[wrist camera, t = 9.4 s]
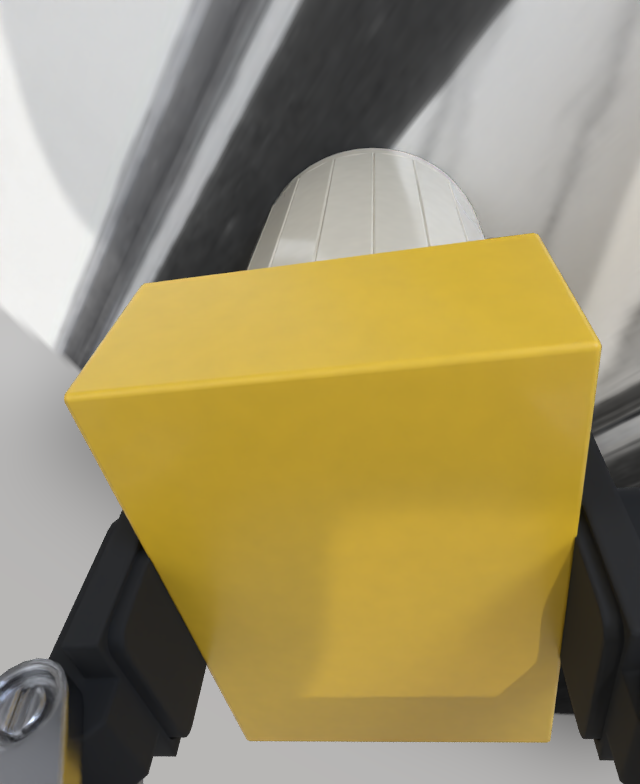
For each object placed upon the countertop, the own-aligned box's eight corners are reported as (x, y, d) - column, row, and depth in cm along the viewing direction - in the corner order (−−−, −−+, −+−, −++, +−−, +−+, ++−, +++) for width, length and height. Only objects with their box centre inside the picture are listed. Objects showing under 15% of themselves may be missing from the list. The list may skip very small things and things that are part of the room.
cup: (236, 167, 17) (137, 323, 10) (480, 128, 16) (566, 272, 9) (285, 363, 21) (239, 572, 14) (482, 343, 20) (542, 559, 13)
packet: (139, 281, 9) (57, 398, 7) (538, 229, 8) (605, 342, 6) (267, 611, 14) (246, 743, 12) (519, 603, 13) (551, 745, 11)
